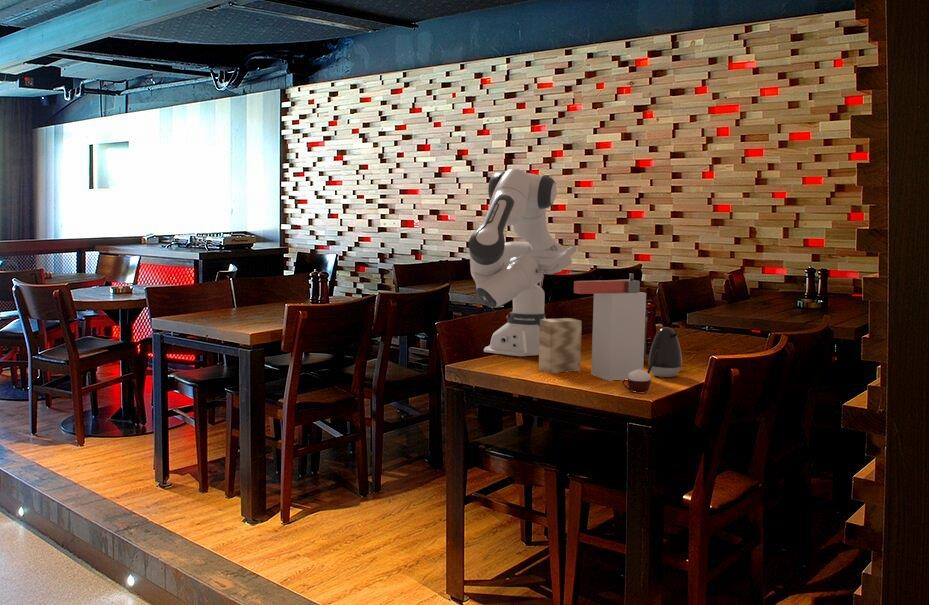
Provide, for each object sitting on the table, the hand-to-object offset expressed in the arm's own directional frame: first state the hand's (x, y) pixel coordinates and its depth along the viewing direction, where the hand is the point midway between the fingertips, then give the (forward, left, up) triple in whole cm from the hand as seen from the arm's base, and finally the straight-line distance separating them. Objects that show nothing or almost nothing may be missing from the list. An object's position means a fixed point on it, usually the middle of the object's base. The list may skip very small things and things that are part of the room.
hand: (565, 247), depth 250 cm
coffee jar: (+13, +44, -40) cm, 60 cm away
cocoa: (+24, -4, -40) cm, 47 cm away
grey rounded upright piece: (+27, +22, -40) cm, 53 cm away
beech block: (-5, +16, -39) cm, 43 cm away
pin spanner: (+10, +10, -13) cm, 20 cm away
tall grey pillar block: (+14, +14, -39) cm, 44 cm away
